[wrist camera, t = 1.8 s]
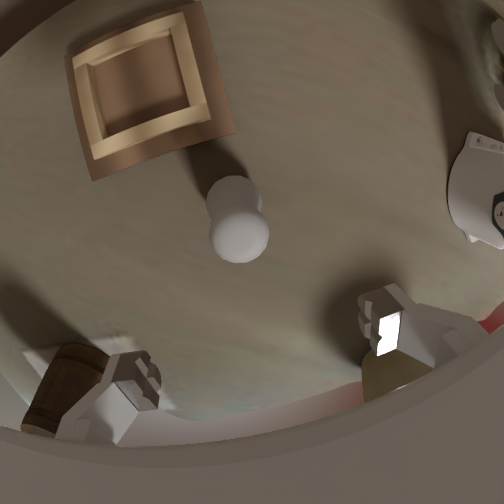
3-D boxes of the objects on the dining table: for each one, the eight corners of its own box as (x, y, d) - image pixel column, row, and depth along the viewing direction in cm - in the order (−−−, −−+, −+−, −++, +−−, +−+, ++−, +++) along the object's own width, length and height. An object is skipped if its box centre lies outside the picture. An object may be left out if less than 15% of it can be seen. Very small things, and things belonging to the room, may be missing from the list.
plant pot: (397, 310, 40) (450, 375, 26) (418, 349, 46) (457, 403, 31) (327, 363, 43) (358, 439, 29) (359, 392, 49) (387, 452, 34)
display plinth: (202, 11, 21) (199, -8, 17) (235, 133, 28) (237, 132, 23) (76, 61, 21) (55, 53, 17) (103, 177, 28) (84, 185, 23)
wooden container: (44, 349, 37) (-3, 439, 17) (95, 334, 36) (46, 452, 16) (90, 399, 43) (65, 487, 23) (144, 392, 43) (127, 499, 22)
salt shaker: (201, 179, 29) (186, 209, 18) (252, 166, 29) (272, 187, 18) (215, 228, 32) (211, 285, 20) (263, 215, 32) (288, 265, 20)
